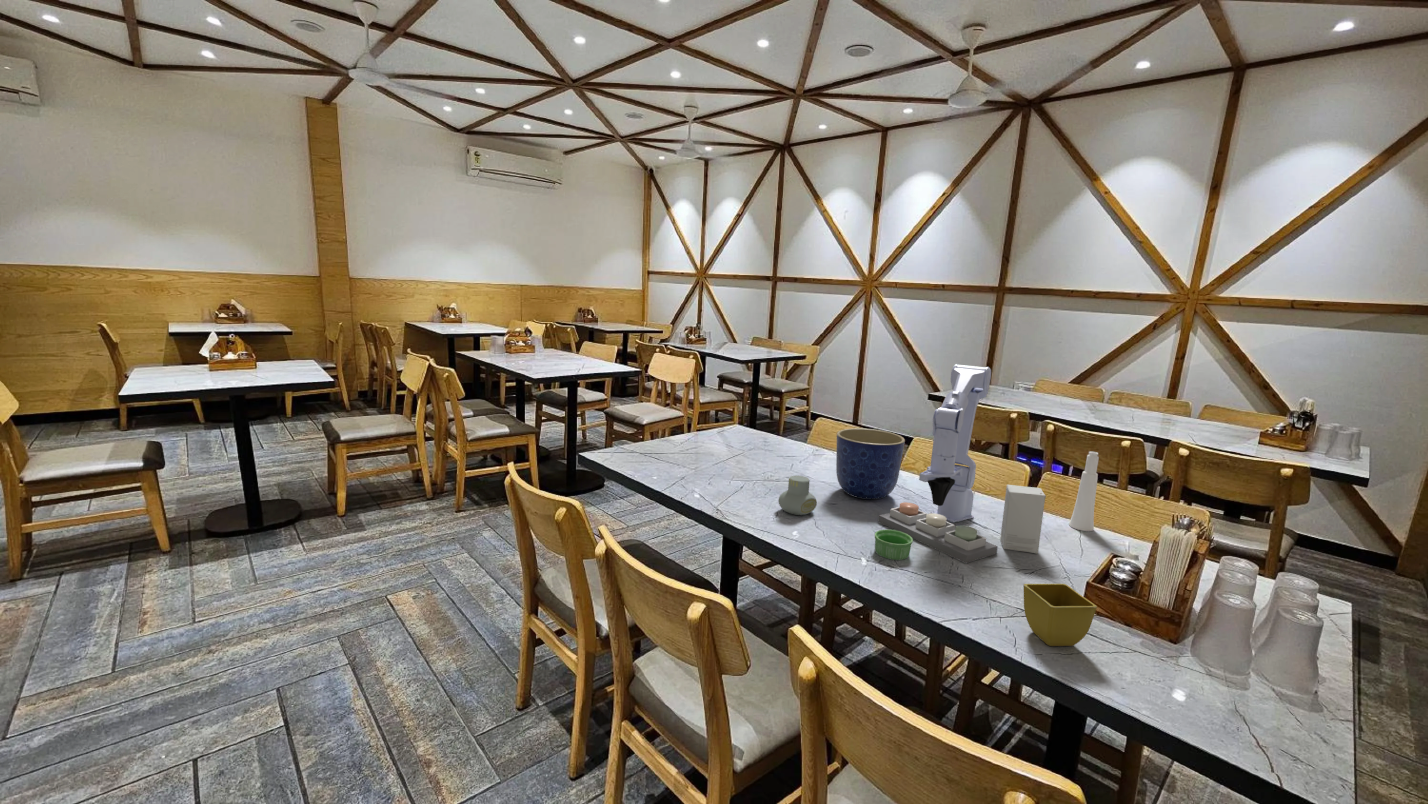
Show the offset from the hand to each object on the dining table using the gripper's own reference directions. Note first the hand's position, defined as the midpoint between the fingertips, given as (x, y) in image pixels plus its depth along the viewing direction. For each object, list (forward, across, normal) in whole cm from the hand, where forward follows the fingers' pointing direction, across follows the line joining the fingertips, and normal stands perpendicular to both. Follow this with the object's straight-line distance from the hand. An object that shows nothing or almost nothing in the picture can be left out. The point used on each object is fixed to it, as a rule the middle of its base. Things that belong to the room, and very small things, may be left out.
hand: (937, 504), depth 153 cm
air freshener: (+9, +22, -30) cm, 38 cm away
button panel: (+9, 0, 0) cm, 9 cm away
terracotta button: (+6, 0, -9) cm, 11 cm away
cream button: (+6, 0, 0) cm, 6 cm away
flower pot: (+9, +19, +42) cm, 47 cm away
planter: (+9, -8, -33) cm, 35 cm away
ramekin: (+9, +18, +2) cm, 20 cm away
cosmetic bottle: (+9, -45, +14) cm, 48 cm away
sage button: (+6, 0, +9) cm, 11 cm away
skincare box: (+9, -15, +14) cm, 23 cm away
